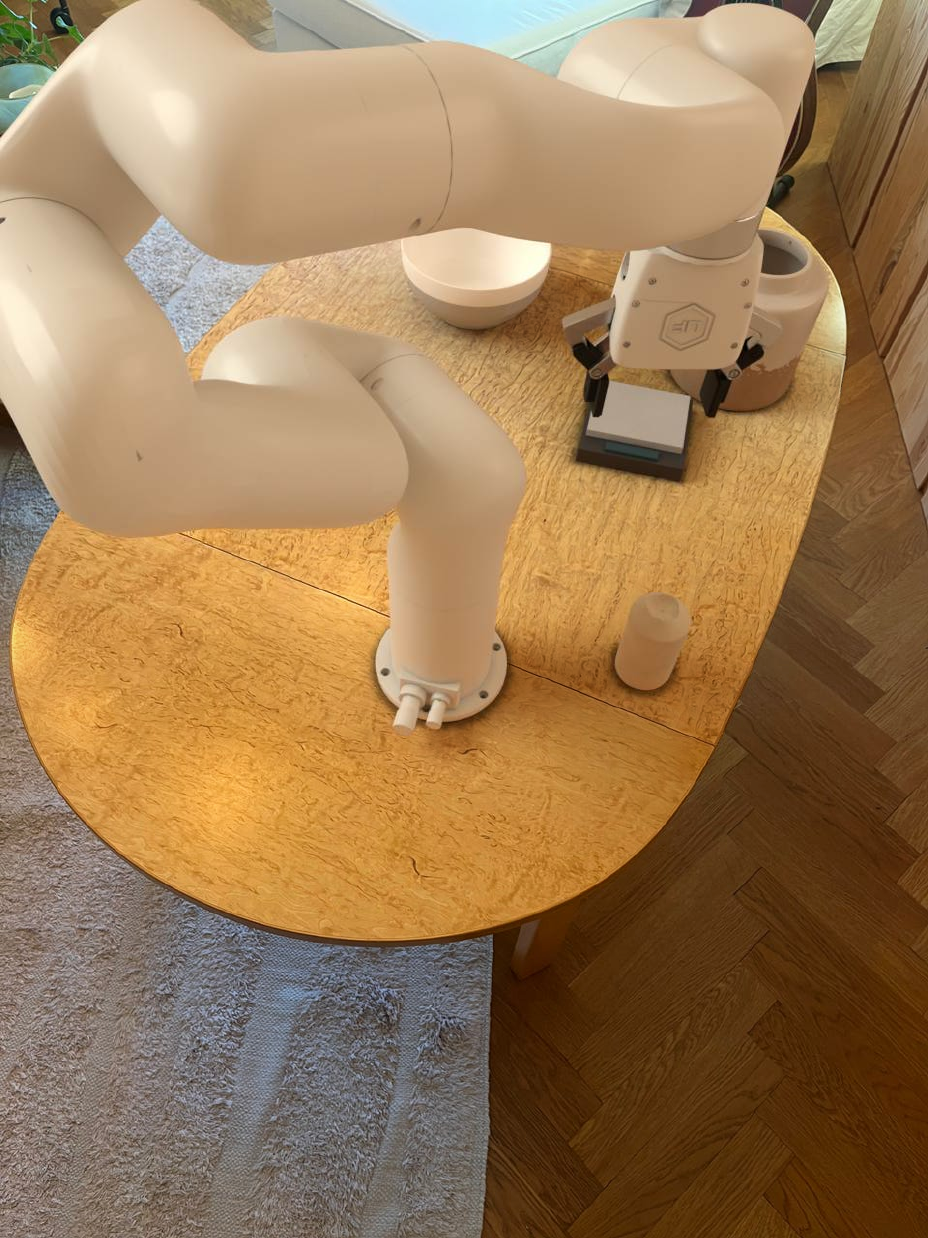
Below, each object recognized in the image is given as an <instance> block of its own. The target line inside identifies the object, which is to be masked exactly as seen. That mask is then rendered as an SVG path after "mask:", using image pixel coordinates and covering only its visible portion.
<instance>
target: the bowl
mask: <svg viewBox="0 0 928 1238" xmlns="http://www.w3.org/2000/svg"><path fill="white" fill-rule="evenodd" d="M552 247H553V246H552V243H544V242H536V241H529V240H522V239H516V238H511V237H506V236H501V235H497V234H493V233H489V232H485V231H481V230H477V229H471V228H457V229H450V230H445V231H440V232H435V233H430V234H425V235H420V236H412V237H407V238H402V239H401V241H400V248H401V249H400V250H401V258H402V265H403V270H404V272H405V277H406V280H407V283H408V286H409V288H410V290H411V292H412V293H413V295H414V296H416V298H417V299H418V301H419V302H420V303H421V304H422V305H423V307H425V308H426V310H427V311H428V312H430V313H431V314H433V315H434V316H436V317H437V318H439V319H442V320H443V321H444V322H446V323H448V324H450V325H451V326H455V327H456V328H457V327H458V328H461V329H465V330H466V329H467V330H485V329H491V328H493V327H496V326H499V325H501V324H503V323H505V322H508V321H510V320H512V319H514V318H516V317H518V315H520V314H521V313H522V312H524V310H525V309H527V308H528V307H529V306H530V305H531V304H532V303H533V302H534V301H535V299H536V298H537V297H538V295H539V294H540V292H541V290H542V287H543V284H544V283H545V280H546V278H547V276H548V272H549V269H550V264H551V259H552V252H553V251H552V250H553V249H552Z"/></svg>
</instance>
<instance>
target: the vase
mask: <svg viewBox="0 0 928 1238" xmlns="http://www.w3.org/2000/svg"><path fill="white" fill-rule="evenodd" d="M757 233H758V235H759V237H760V239H761V240H762V242H763V245H764V250H763V260H762V267H761V274H760V279H759V284H758V289H757V294H756V299H755V303H754V305H755V306H756V307H758V308H760V309H762V310H764V311H765V312H767V313H769V314H771V315H772V316H774V317H776V318H778V319H779V320H780V322H781V325H782V327H783V330H784V333H783V335H782V336H781V337H780V338H779V339H778V340H777V341H776V342H775V343H774V344H773V345H772V346H771V347H770V348H769V349H766V350H765V351H764V356H763V357H762V358H761V359H759V360H758V361H756V362H755V363H753V364H751V365H750V366H748V367H747V368H745V369H743V370H742V371H741V372H742V374H741V376H740V377H739V378H738V379H736V380H732V383H731V385H730V388H729V391H728V394H727V396H726V399H725V402H724V403H720V405H719V408H718V409H721V410H726V411H732V412H733V411H734V412H747V411H756V410H760V409H763V408H767V407H768V406H771V405H773V404H774V403H776V402H777V401H779V399H781V398H782V397H783V395H785V393H786V391H787V390H788V388H789V386H790V384H791V382H792V379H793V377H794V376H795V375H794V374H795V372H796V370H797V368H798V365H799V362H800V361H801V358H802V355H803V354H804V351H805V349H806V346H807V344H808V342H809V339H810V338H811V335H812V332H813V330H814V327H815V325H816V323H817V320H818V318H819V315H820V314H821V311H822V308H823V306H824V303H825V301H826V298H827V296H828V294H829V293H828V292H829V288H830V278H829V274H828V271H827V269H826V267H825V265H824V264H823V263H822V261H821V260H820V259H819V257H817V256H816V254H814V253H812V251H811V250H810V248H809V247H808V246H807V244H806V243H805V242H803V241H802V240H801V239H799V238H798V237H796V236H795V235H793V234H790V233H788V232H786V231H783V230H779V229H777V228H771V227H762V226H759V228H758V231H757ZM755 332H756V331H754V330H752V329H750V328H748V331H747V335H746V338H745V339H747V338H748V337H750V336H754V333H755ZM669 372H670V375H671V377H672V379H673V380H674V382H675V383H676V385H677V386H678V387H679V388H680V389H681V390H682V391H684V393H686V394H687V395H688V396H691V397H692V399H695V400H697V401H699V402H700V403H701V399H700V395H699V394H700V390H701V387H702V384H703V381H704V378H705V375H706V372H707V370H692V369H669Z"/></svg>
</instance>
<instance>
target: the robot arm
mask: <svg viewBox="0 0 928 1238" xmlns="http://www.w3.org/2000/svg"><path fill="white" fill-rule="evenodd" d="M815 57H816V40H815V37H814V33H813V32H812V30H811V29H810V27H809V25H808V24H807V23H806V22H805V21H804V20H803V19H801V18H799V17H798V16H796V15H795V14H793V13H791V12H788V11H786V10H784V9H781V8H779V7H775V6H771V5H767V4H763V3H753V2H735V3H727V4H723V5H719V6H717V7H715V8H713V9H711V10H709V11H708V12H707V13H706V14H704V15H702V16H693V17H692V16H691V17H690V16H689V17H630V18H622V19H618V20H617V19H616V20H613V21H610V22H607V23H605V24H602V25H600V26H598V27H596V28H594V29H593V30H591V31H589V33H587V34H585V36H583V37H582V38H581V39H579V41H578V42H577V43H576V44H575V45H574V46H573V47H572V48H571V50H570V51H569V52H568V54H567V55H566V57H565V58H564V60H563V62H562V63H561V66H560V68H559V70H558V72H557V76H556V77H555V76H552V75H550V74H548V73H546V72H543V71H541V70H538V69H537V68H534V67H532V66H530V65H528V64H525V63H523V62H521V61H519V60H517V59H514V58H511V57H509V56H507V55H504V54H500V53H497V52H495V51H492V50H489V49H486V48H482V47H478V46H475V45H471V44H467V43H464V42H458V41H453V40H431V41H423V42H422V41H421V42H412V43H411V42H410V43H397V44H390V45H380V46H364V47H351V48H339V49H338V48H337V49H325V50H324V49H323V50H319V49H311V50H300V51H298V50H297V51H285V52H284V51H283V52H274V51H273V52H271V51H265V50H259V49H257V48H255V47H254V46H252V45H251V44H250V43H249V42H247V41H246V40H245V39H244V38H243V37H242V36H241V35H240V34H238V33H237V32H236V31H235V30H233V29H232V28H231V27H230V26H229V25H228V24H227V23H225V22H224V21H223V20H222V19H221V18H220V17H218V16H217V15H216V14H215V13H214V12H213V11H211V10H209V9H208V8H206V7H204V6H203V5H201V4H199V3H197V2H196V1H194V0H137V1H135V2H132V3H131V4H129V5H127V6H125V7H124V8H121V9H120V10H118V11H117V12H115V13H113V14H112V15H111V16H109V17H108V18H107V19H106V20H105V21H103V23H101V24H100V25H99V26H98V27H97V28H96V29H94V30H93V31H92V32H91V33H90V34H88V35H87V37H86V38H85V39H84V40H83V41H82V42H81V43H79V45H77V47H76V48H75V49H74V50H73V51H72V52H71V53H70V54H69V55H68V56H67V58H66V59H64V61H63V62H62V63H61V64H60V66H59V67H58V68H57V69H56V70H55V71H54V72H53V74H52V75H51V76H49V78H48V80H47V81H46V82H45V83H44V84H43V85H42V87H41V88H40V89H39V91H38V92H37V93H36V94H35V95H34V96H33V97H32V99H31V100H30V101H29V102H28V104H27V105H26V106H25V107H24V108H23V110H22V111H21V112H20V113H19V115H18V116H17V117H16V118H15V120H14V121H13V122H12V123H11V124H10V125H9V127H8V128H7V129H6V130H5V132H3V134H2V135H1V136H0V400H1V402H2V403H3V405H4V407H5V409H6V410H7V412H8V414H9V416H10V418H11V419H12V421H13V423H14V425H15V427H16V429H17V431H18V434H19V435H20V437H21V439H22V441H23V444H24V446H25V447H26V449H27V451H28V453H29V455H30V457H31V460H32V462H33V464H34V466H35V468H36V470H37V472H38V474H39V476H40V478H41V480H42V482H43V484H44V486H45V487H46V489H47V491H48V493H49V494H50V496H51V497H52V499H53V501H54V502H55V503H56V505H57V506H58V507H59V509H61V511H62V512H63V513H64V514H66V515H67V516H68V518H69V517H70V518H71V519H72V520H73V521H74V522H76V523H78V524H79V525H81V526H83V527H84V528H86V529H89V530H90V531H93V532H95V533H99V534H101V535H105V536H110V537H114V538H115V537H116V538H124V539H125V538H126V539H141V538H155V537H163V536H170V535H175V534H181V533H185V532H186V533H187V532H193V531H201V530H212V529H213V530H215V529H229V530H231V529H232V530H334V529H335V530H337V529H348V528H354V527H360V526H364V525H368V524H371V523H372V522H373V523H374V521H378V520H379V519H381V518H382V517H384V516H385V515H387V514H388V513H390V512H391V511H393V510H394V511H395V513H396V514H397V517H398V521H397V522H396V523H395V525H394V526H393V527H392V529H391V531H390V533H389V536H388V540H387V545H386V568H387V574H388V575H387V580H388V601H389V603H388V605H389V623H390V625H389V628H388V629H387V630H386V631H385V632H384V634H383V636H382V637H381V639H380V641H379V643H378V646H377V649H376V652H375V653H376V654H375V674H376V678H377V682H378V684H379V686H380V688H381V691H382V692H383V694H384V695H385V696H386V697H387V699H388V700H389V701H390V702H391V703H392V704H393V705H394V706H396V708H398V709H397V710H396V714H395V716H394V720H393V723H392V725H391V726H392V727H391V729H392V731H393V732H394V733H396V734H397V735H398V736H403V737H411V736H412V735H413V734H414V731H415V727H416V725H417V721H418V719H420V720H424V721H425V726H426V727H427V728H429V729H431V730H440V729H441V727H442V725H443V724H442V723H448V722H449V723H450V722H455V721H461V720H463V719H466V718H469V717H472V716H474V715H476V714H478V713H479V712H482V711H483V710H485V708H487V707H488V706H489V705H490V704H491V703H492V702H493V701H494V700H495V699H496V697H497V696H498V695H499V693H500V692H501V690H502V687H503V686H504V683H505V679H506V675H507V667H508V659H507V652H506V648H505V646H504V645H505V644H504V643H503V641H502V639H501V638H500V636H499V634H498V632H497V631H496V623H497V616H498V615H497V614H498V606H499V597H500V591H501V590H500V589H501V583H502V582H501V580H502V574H503V573H502V572H503V564H504V558H505V550H506V545H507V541H508V536H509V533H510V530H511V527H512V525H513V523H514V519H515V518H516V515H517V513H518V511H519V508H520V507H521V504H522V501H523V499H524V496H525V493H526V489H527V483H528V477H527V476H528V475H527V469H526V464H525V462H524V459H523V456H522V455H521V453H520V451H519V449H518V448H517V446H516V445H515V443H514V442H513V440H512V439H511V437H510V436H509V435H508V433H507V432H506V431H505V430H504V429H503V428H502V426H500V425H499V423H498V422H497V421H496V420H495V419H494V418H493V417H492V416H491V415H490V414H489V413H488V412H487V411H486V410H485V408H483V407H482V406H481V405H480V404H479V403H478V402H477V401H476V400H475V399H474V398H473V397H472V396H471V395H470V394H469V393H468V392H467V391H465V390H464V389H463V388H462V387H461V386H459V384H458V383H457V382H456V381H455V380H453V379H452V377H451V375H449V374H448V373H447V372H446V371H445V370H444V369H443V368H442V367H441V366H440V365H439V364H438V363H437V362H436V361H435V360H434V359H433V358H431V357H430V355H428V354H427V353H426V352H424V351H423V350H422V349H421V348H419V347H418V346H416V345H415V344H412V343H411V342H409V341H406V340H404V339H401V338H398V337H395V336H391V335H388V334H384V333H378V332H374V331H370V330H369V331H368V330H364V329H360V328H353V327H349V326H344V325H339V324H334V323H329V322H326V321H325V322H324V321H320V320H315V319H309V318H304V317H297V316H288V315H282V316H281V315H280V316H279V315H278V316H268V317H264V318H260V319H255V320H252V321H249V322H247V323H245V324H242V325H241V326H239V327H237V328H235V329H234V330H232V331H230V332H229V333H228V334H226V335H225V336H224V337H222V338H221V340H220V341H218V343H216V345H215V346H214V347H213V349H211V351H210V353H209V354H208V356H207V358H206V360H205V363H204V365H203V367H202V371H201V375H200V380H195V381H193V377H192V373H191V370H190V366H189V363H188V360H187V357H186V354H185V351H184V349H183V346H182V343H181V341H180V339H179V336H178V334H177V332H176V331H175V329H174V326H173V325H172V323H171V321H170V319H169V318H168V317H167V315H166V313H165V312H164V311H163V309H162V307H160V305H159V303H158V302H157V301H156V300H155V298H154V297H153V296H152V295H151V294H150V292H149V291H148V290H147V288H146V287H145V285H144V284H143V283H142V282H141V280H140V278H139V277H138V276H137V274H136V273H135V272H134V270H133V269H132V268H131V266H130V265H129V264H128V263H127V262H126V260H125V259H126V257H127V256H128V255H129V254H130V253H131V252H132V250H133V249H134V248H135V247H136V246H137V245H138V244H139V242H140V241H141V240H142V239H143V238H144V237H145V235H146V234H147V233H148V232H149V231H150V229H151V228H152V227H153V226H154V225H155V224H156V222H157V221H158V220H159V219H160V217H161V216H163V217H164V219H165V221H167V222H168V223H169V224H170V226H172V227H173V228H174V229H175V231H177V232H178V233H179V234H180V235H181V236H182V237H183V238H184V239H185V240H186V241H188V242H189V244H191V245H192V246H194V247H195V248H196V249H198V250H200V251H201V252H202V253H204V254H206V255H207V256H210V257H211V258H213V259H216V260H218V261H221V262H225V263H227V264H230V265H231V264H233V265H239V266H266V265H272V264H273V265H274V264H278V263H284V262H290V261H294V260H298V259H304V258H309V257H314V256H321V255H326V254H331V253H335V252H336V253H337V252H342V251H346V250H353V249H356V248H361V247H367V246H372V245H377V244H382V243H386V242H392V241H396V240H402V238H407V237H412V236H420V235H425V234H430V233H435V232H440V231H445V230H450V229H457V228H471V229H477V230H481V231H485V232H489V233H493V234H497V235H501V236H506V237H511V238H516V239H522V240H529V241H536V242H544V243H551V245H552V244H553V245H559V246H564V247H565V246H566V247H571V248H577V249H586V250H595V251H603V252H625V253H624V256H623V258H622V261H621V264H620V266H619V269H618V272H617V275H616V277H615V282H614V285H613V287H612V290H611V291H612V292H611V295H610V298H608V299H604V300H603V301H600V302H597V303H595V304H593V305H590V306H587V307H585V308H583V309H580V310H578V311H575V312H572V313H570V314H567V315H565V316H564V317H563V318H562V319H561V324H562V330H563V331H562V332H563V334H564V337H565V339H566V341H567V344H568V346H569V348H570V350H571V352H572V356H573V357H574V358H575V359H576V361H578V363H579V364H580V365H581V366H583V368H585V369H586V373H585V378H584V384H583V387H582V388H583V389H582V391H583V392H582V396H583V401H584V403H589V402H590V406H591V411H592V416H593V417H600V416H602V413H603V408H604V404H605V399H606V395H607V391H608V386H609V381H610V377H609V373H610V372H611V371H612V370H613V369H615V368H616V367H617V366H618V367H622V368H625V369H633V370H670V369H692V370H707V372H706V375H705V378H704V381H703V384H702V387H701V390H700V394H699V395H700V399H701V402H700V403H701V406H702V409H703V412H704V416H705V417H707V418H708V419H715V418H716V416H717V413H718V410H719V409H720V408H719V405H720V403H724V402H725V399H726V396H727V394H728V391H729V388H730V385H731V383H732V380H736V379H738V378H739V377H740V376H741V374H742V372H741V371H742V370H743V369H745V368H747V367H748V366H750V365H751V364H753V363H755V362H756V361H758V360H759V359H761V358H762V357H763V356H764V351H765V350H766V349H769V348H770V347H771V346H772V345H773V344H774V343H775V342H776V341H777V340H778V339H779V338H780V337H781V336H782V335H783V333H784V330H783V327H782V325H781V322H780V320H779V319H778V318H776V317H774V316H772V315H771V314H769V313H767V312H765V311H764V310H762V309H760V308H758V307H756V306H755V305H754V303H755V299H756V294H757V289H758V284H759V279H760V274H761V267H762V260H763V250H764V245H763V242H762V240H761V239H760V237H759V235H758V233H757V231H758V228H759V227H760V225H761V221H762V218H763V215H764V214H765V213H764V212H765V210H766V206H767V203H768V200H769V197H770V195H771V191H772V188H773V185H774V183H775V180H776V177H777V175H778V171H779V168H780V165H781V162H782V160H783V157H784V153H785V150H786V147H787V145H788V141H789V138H790V136H791V133H792V130H793V126H794V123H795V121H796V118H797V115H798V112H799V108H800V106H801V102H802V100H803V96H804V93H805V90H806V89H807V86H808V82H809V78H810V76H811V74H812V73H811V72H812V70H813V69H812V68H813V67H814V62H815ZM601 327H604V328H605V331H606V332H604V333H603V334H602V335H601V336H600V337H598V338H597V339H596V340H595V341H594V342H591V340H589V338H587V336H585V334H586V333H588V332H591V331H593V330H595V329H596V330H597V329H598V328H601ZM748 328H750V329H752V330H754V331H756V332H755V333H754V336H750V337H748V338H747V339H745V338H746V335H747V331H748Z"/></svg>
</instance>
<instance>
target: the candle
mask: <svg viewBox="0 0 928 1238" xmlns="http://www.w3.org/2000/svg"><path fill="white" fill-rule="evenodd" d="M691 627H692V615H691V612H690V610H689V609H688V606H687V605H686V604H685V603H684V602H683V601H682V600H680V599H679V598H677V597H676V596H674V595H671V594H669V593H665V592H660V591H654V592H652V591H651V592H648V593H644V594H642V595H641V596H639V597H637V598H636V599H635V601H633V603H632V605H631V607H630V611H629V614H628V616H627V620H626V623H625V626H624V628H623V632H622V635H621V637H620V641H619V644H618V647H617V651H616V654H615V658H614V667H615V672H616V674H617V675H618V677H619V679H621V680H622V682H624V684H626V685H627V686H629V687H631V688H633V689H636V690H640V691H652V690H657V689H659V688H660V687H662V686H663V685H664V684H665V683H666V682H667V681H668V680H669V678H670V676H671V674H672V672H673V670H674V667H675V665H676V663H677V660H678V658H679V655H680V653H681V651H682V648H683V646H684V644H685V641H686V639H687V637H688V634H689V632H690V630H691Z"/></svg>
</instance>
